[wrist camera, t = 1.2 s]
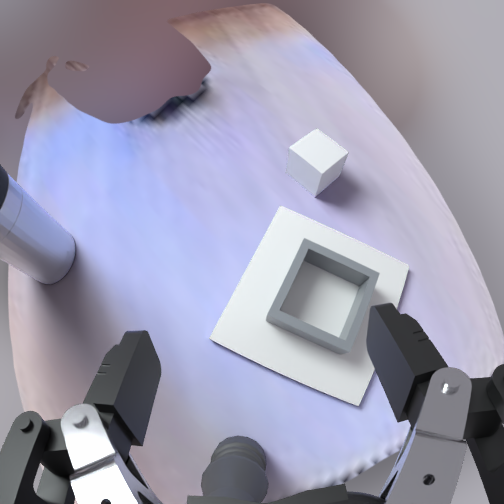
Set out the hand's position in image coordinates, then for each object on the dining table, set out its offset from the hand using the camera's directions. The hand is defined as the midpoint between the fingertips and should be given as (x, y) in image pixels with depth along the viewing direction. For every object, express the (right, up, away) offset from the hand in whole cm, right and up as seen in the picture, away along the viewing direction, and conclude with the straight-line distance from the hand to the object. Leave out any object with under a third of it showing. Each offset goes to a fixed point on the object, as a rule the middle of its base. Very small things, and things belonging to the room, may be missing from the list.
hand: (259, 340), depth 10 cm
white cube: (+9, +15, +35) cm, 39 cm away
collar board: (+8, -3, +27) cm, 29 cm away
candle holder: (-2, -22, +20) cm, 30 cm away
